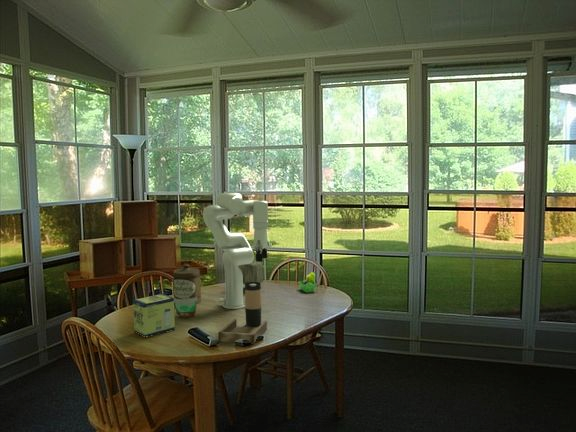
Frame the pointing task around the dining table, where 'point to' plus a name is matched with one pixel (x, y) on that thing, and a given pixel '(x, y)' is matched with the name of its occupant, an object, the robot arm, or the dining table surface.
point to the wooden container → (187, 283)
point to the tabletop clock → (252, 272)
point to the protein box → (153, 315)
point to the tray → (240, 332)
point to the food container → (185, 307)
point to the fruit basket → (308, 283)
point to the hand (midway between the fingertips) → (261, 259)
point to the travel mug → (253, 304)
